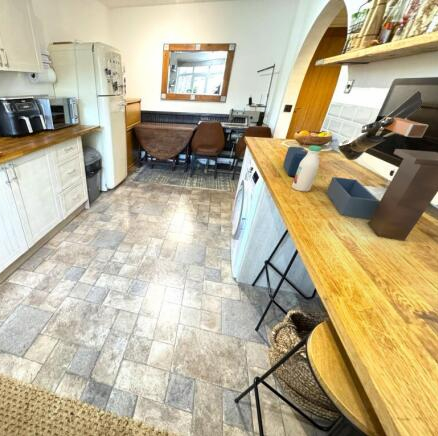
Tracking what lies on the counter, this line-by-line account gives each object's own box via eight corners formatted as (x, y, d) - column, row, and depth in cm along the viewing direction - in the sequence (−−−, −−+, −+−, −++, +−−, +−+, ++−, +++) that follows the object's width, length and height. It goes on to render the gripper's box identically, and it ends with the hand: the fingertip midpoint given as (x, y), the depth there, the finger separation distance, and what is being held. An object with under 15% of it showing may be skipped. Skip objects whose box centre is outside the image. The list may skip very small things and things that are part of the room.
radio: (305, 179, 126) (320, 140, 116) (287, 177, 128) (299, 138, 118) (297, 167, 143) (309, 132, 133) (281, 165, 145) (292, 131, 135)
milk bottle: (313, 189, 114) (329, 147, 104) (304, 193, 110) (321, 149, 100) (296, 184, 119) (310, 143, 109) (288, 187, 115) (302, 145, 105)
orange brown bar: (381, 127, 90) (386, 117, 88) (393, 128, 89) (399, 117, 87) (406, 136, 75) (413, 124, 73) (421, 137, 74) (428, 125, 72)
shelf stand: (391, 223, 87) (435, 152, 74) (410, 242, 77) (465, 163, 64) (359, 218, 90) (395, 148, 77) (372, 235, 80) (417, 159, 67)
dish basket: (349, 195, 108) (356, 179, 104) (370, 219, 89) (380, 201, 86) (325, 192, 111) (332, 176, 107) (341, 215, 92) (349, 197, 88)
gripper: (352, 127, 102) (377, 108, 85) (393, 129, 97) (428, 110, 81) (348, 144, 102) (372, 129, 85) (389, 148, 98) (423, 132, 81)
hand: (399, 120), depth 83 cm, fingers closed on orange brown bar, 3 cm apart
